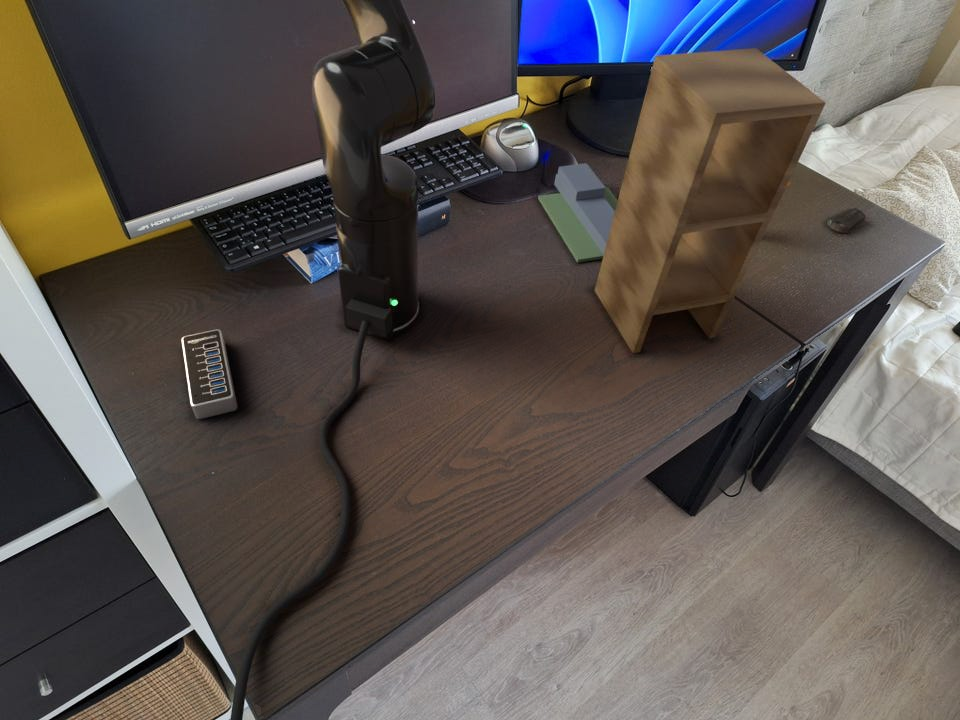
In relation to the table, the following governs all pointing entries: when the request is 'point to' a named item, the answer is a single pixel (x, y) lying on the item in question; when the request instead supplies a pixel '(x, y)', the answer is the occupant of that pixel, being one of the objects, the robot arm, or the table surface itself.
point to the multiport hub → (208, 374)
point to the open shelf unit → (701, 185)
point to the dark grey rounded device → (846, 220)
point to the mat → (574, 226)
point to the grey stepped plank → (586, 200)
